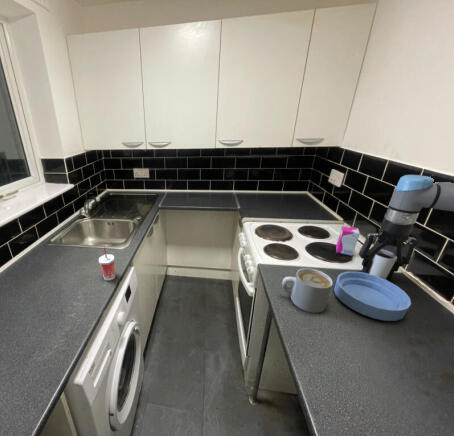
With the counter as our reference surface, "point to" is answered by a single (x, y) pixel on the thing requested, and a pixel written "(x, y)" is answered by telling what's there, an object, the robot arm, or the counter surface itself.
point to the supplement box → (347, 240)
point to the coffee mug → (309, 289)
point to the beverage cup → (107, 266)
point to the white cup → (382, 264)
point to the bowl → (372, 296)
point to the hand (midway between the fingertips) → (375, 275)
